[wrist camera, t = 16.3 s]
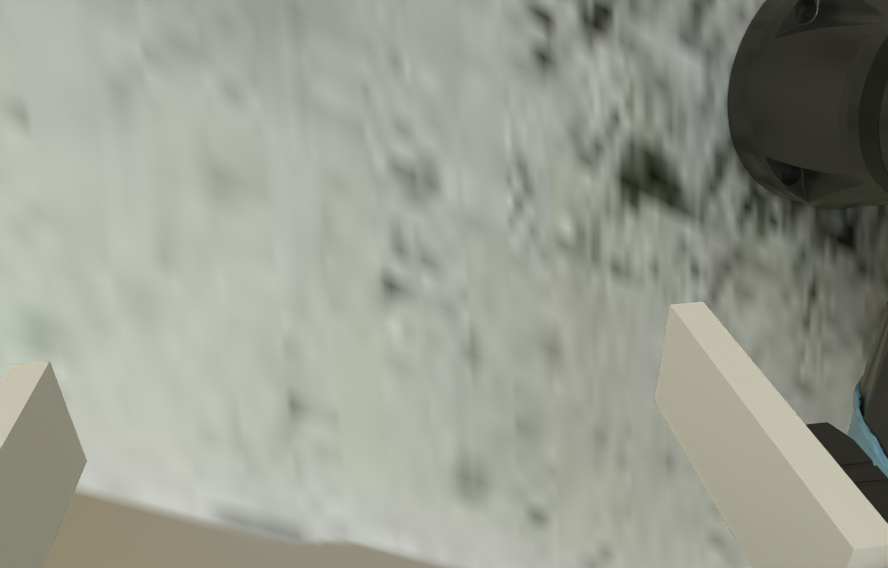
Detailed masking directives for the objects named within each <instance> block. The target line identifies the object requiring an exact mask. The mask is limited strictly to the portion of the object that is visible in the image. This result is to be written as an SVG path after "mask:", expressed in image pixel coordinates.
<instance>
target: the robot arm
mask: <svg viewBox="0 0 888 568" xmlns="http://www.w3.org/2000/svg"><path fill="white" fill-rule="evenodd" d="M728 116H729V124H730V130H731V135H732V138H733V142H734V145H735V148H736V150H737V152H738V155H739V157H740V159H741V161H742V162H743V164H744V166H745V167H746V169H747V170H748V171H749V173H750V174H751V175H752V176H753V177H754V178H755V179H756V180H757V181H758V182H759V183H760V184H761V185H762V186H764V187H765V188H766V189H768V190H769V191H771V192H773V193H775V194H777V195H779V196H781V197H784V198H787V199H790V200H793V201H796V202H799V203H802V204H805V205H808V206H813V207H819V208H828V209H842V208H852V207H863V206H874V205H884V204H888V0H767V1H766V2H765V3H764V4H763V6H762V7H761V8H760V10H759V11H758V12H757V14H756V16H755V17H754V19H753V20H752V22H751V24H750V26H749V27H748V29H747V31H746V33H745V35H744V37H743V39H742V42H741V44H740V47H739V49H738V52H737V55H736V58H735V61H734V65H733V69H732V73H731V78H730V85H729V94H728ZM654 402H655V403H656V405H657V407H658V409H659V410H660V412H661V414H662V415H663V417H664V419H665V420H666V422H667V424H668V426H669V427H670V429H671V431H672V432H673V434H674V436H675V437H676V439H677V441H678V443H679V444H680V446H681V448H682V449H683V451H684V453H685V454H686V456H687V458H688V460H689V461H690V463H691V465H692V466H693V468H694V470H695V471H696V473H697V475H698V477H699V478H700V480H701V482H702V483H703V485H704V487H705V488H706V490H707V492H708V494H709V495H710V497H711V499H712V500H713V502H714V504H715V505H716V507H717V509H718V511H719V512H720V514H721V516H722V517H723V519H724V521H725V522H726V524H727V526H728V528H729V529H730V531H731V533H732V534H733V536H734V538H735V539H736V541H737V543H738V544H739V546H740V548H741V550H742V551H743V553H744V555H745V556H746V558H747V560H748V561H749V563H750V565H751V567H752V568H888V302H887V306H886V309H885V312H884V315H883V318H882V321H881V324H880V327H879V330H878V333H877V336H876V339H875V342H874V345H873V348H872V350H871V353H870V356H869V359H868V362H867V365H866V368H865V371H864V374H863V376H862V377H861V379H860V381H859V383H858V384H857V385H856V388H855V390H854V396H853V406H854V412H853V416H852V420H851V424H850V428H849V432H848V435H846V434H844V433H843V432H841V431H840V430H838V429H837V428H835V427H834V426H832V425H830V424H829V423H827V422H826V423H817V424H808V425H805V424H804V422H803V421H802V420H801V419H800V418H799V416H798V415H797V414H796V413H795V412H794V410H793V409H792V408H791V407H790V406H789V404H788V403H787V402H786V401H785V400H784V398H783V397H782V396H781V395H780V394H779V392H778V391H777V390H776V389H775V388H774V386H773V385H772V384H771V383H770V382H769V380H768V379H767V378H766V377H765V376H764V374H763V373H762V372H761V371H760V370H759V368H758V367H757V366H756V365H755V363H754V362H753V361H752V360H751V359H750V357H749V356H748V355H747V354H746V353H745V351H744V350H743V349H742V348H741V347H740V345H739V344H738V343H737V342H736V341H735V339H734V338H733V337H732V336H731V335H730V333H729V332H728V331H727V330H726V329H725V327H724V326H723V325H722V324H721V323H720V321H719V320H718V319H717V318H716V317H715V315H714V314H713V313H712V312H711V311H710V309H709V308H708V307H707V306H706V305H705V303H704V302H694V303H683V304H672V305H670V308H669V314H668V321H667V327H666V333H665V339H664V345H663V351H662V357H661V363H660V370H659V376H658V382H657V388H656V394H655V400H654ZM86 462H87V460H86V457H85V455H84V452H83V449H82V447H81V444H80V441H79V439H78V436H77V433H76V430H75V428H74V425H73V422H72V420H71V417H70V414H69V412H68V409H67V406H66V403H65V401H64V398H63V395H62V393H61V390H60V387H59V385H58V382H57V379H56V376H55V374H54V371H53V368H52V366H51V363H50V361H45V362H34V363H23V364H12V365H10V366H9V367H8V369H7V370H6V372H5V374H4V375H3V377H2V378H1V380H0V568H43V567H44V564H45V562H46V559H47V557H48V555H49V552H50V549H51V547H52V545H53V542H54V540H55V537H56V535H57V533H58V530H59V528H60V525H61V523H62V520H63V518H64V515H65V513H66V510H67V508H68V506H69V503H70V501H71V498H72V496H73V493H74V491H75V489H76V486H77V484H78V481H79V479H80V476H81V474H82V471H83V469H84V467H85V464H86Z"/></svg>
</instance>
